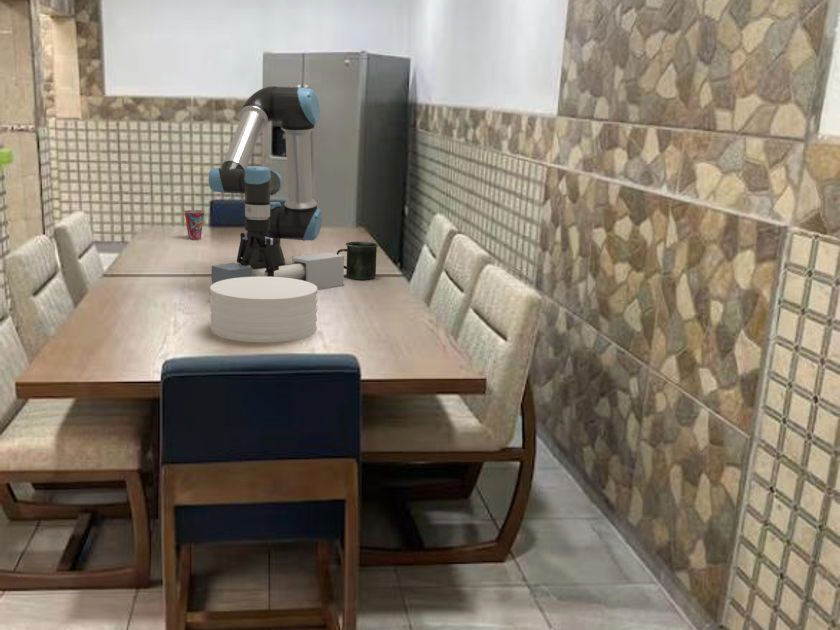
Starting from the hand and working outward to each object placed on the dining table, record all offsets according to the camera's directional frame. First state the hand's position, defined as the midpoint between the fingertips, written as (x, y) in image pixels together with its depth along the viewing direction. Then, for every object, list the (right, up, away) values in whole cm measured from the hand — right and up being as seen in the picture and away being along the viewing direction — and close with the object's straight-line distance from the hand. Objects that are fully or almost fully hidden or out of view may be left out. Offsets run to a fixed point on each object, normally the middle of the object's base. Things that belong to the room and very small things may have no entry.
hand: (257, 289), depth 261 cm
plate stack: (+9, -12, -35) cm, 38 cm away
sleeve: (+17, +2, +19) cm, 25 cm away
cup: (-46, +24, +100) cm, 112 cm away
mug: (+28, +5, +37) cm, 46 cm away
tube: (+4, +1, +4) cm, 5 cm away
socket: (-6, -4, -7) cm, 10 cm away
